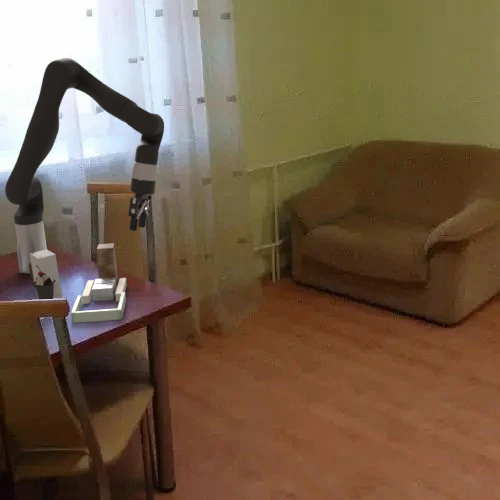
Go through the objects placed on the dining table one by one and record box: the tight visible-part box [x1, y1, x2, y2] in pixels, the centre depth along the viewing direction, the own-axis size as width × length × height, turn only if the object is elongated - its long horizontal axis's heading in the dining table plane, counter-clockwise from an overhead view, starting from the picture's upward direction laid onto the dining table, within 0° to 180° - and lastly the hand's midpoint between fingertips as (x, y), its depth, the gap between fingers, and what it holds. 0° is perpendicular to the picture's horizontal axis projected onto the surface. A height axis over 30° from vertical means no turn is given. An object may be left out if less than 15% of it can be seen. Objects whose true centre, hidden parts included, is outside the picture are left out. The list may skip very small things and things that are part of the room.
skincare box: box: [30, 249, 64, 300], centre depth 232 cm, size 8×6×15 cm
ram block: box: [96, 242, 119, 284], centre depth 246 cm, size 5×5×12 cm
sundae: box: [31, 265, 56, 300], centre depth 220 cm, size 7×7×15 cm
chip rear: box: [94, 278, 117, 293], centre depth 238 cm, size 6×4×4 cm, turn 94°
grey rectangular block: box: [92, 283, 116, 302], centre depth 233 cm, size 6×4×4 cm, turn 93°
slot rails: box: [81, 277, 128, 305], centre depth 236 cm, size 12×14×2 cm
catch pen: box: [70, 291, 127, 324], centre depth 222 cm, size 14×14×3 cm
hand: (137, 228), depth 240 cm, fingers open, 8 cm apart
